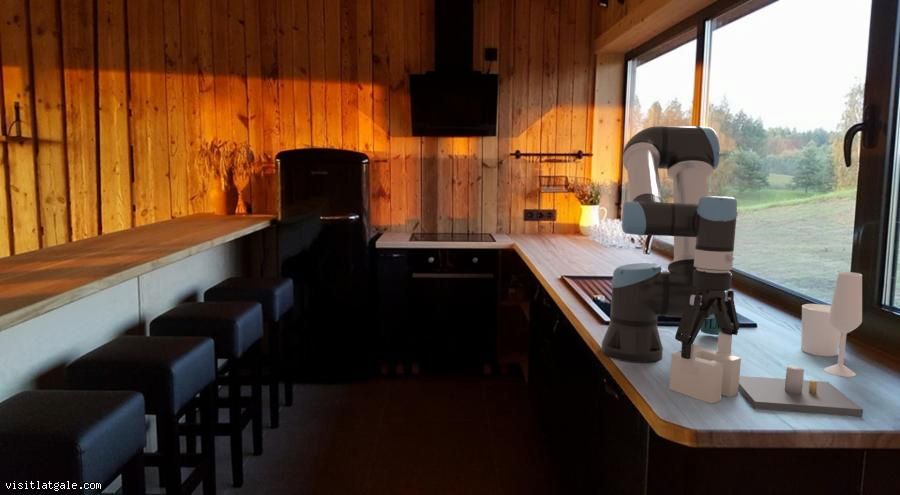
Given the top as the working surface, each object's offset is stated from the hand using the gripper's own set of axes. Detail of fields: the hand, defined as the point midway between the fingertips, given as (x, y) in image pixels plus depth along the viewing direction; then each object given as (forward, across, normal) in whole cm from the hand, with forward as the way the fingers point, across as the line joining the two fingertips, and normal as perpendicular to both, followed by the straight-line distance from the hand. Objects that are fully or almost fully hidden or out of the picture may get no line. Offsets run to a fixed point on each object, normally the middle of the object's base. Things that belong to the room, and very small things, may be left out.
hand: (705, 368), depth 134 cm
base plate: (+5, +13, -12) cm, 19 cm away
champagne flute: (+5, +41, -10) cm, 42 cm away
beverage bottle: (+5, +43, +24) cm, 50 cm away
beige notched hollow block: (+5, 0, 0) cm, 5 cm away
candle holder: (+5, +54, 0) cm, 54 cm away
